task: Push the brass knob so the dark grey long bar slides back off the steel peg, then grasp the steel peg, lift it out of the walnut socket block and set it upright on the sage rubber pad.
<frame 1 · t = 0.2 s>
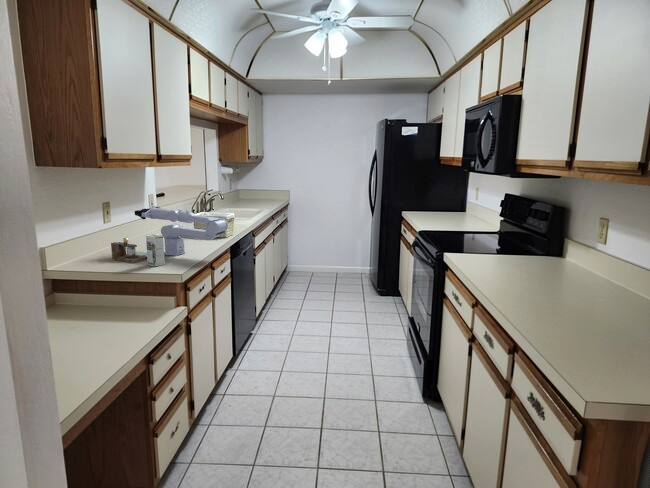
hand: (140, 211, 224), 21 cm above the worktop, tool horizontal, fingers open, 7 cm apart
sage rubber pad: (139, 254, 219), on the worktop
storage basket: (214, 235, 276), on the worktop
syrup box: (156, 265, 199), on the worktop
dark grey long bar: (123, 241, 208), point 8 cm above the worktop, slide at 0.0 cm
walnut socket block: (131, 259, 208), on the worktop
steel peg: (131, 259, 208), resting in walnut socket block
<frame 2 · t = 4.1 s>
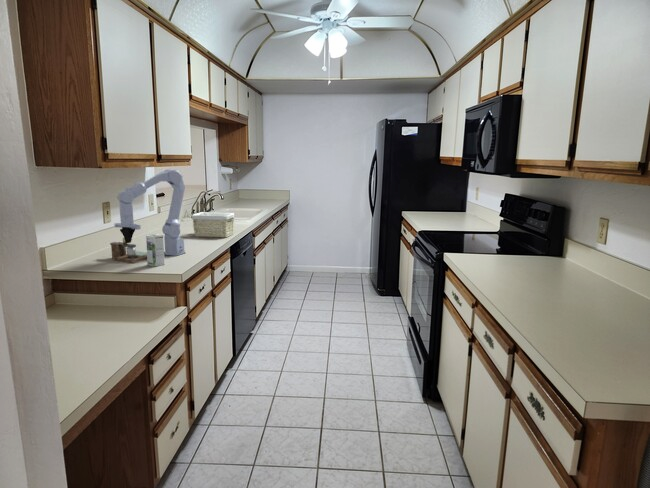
hand: (128, 242, 207), 8 cm above the worktop, tool pointing down, fingers closed
dark grey long bar: (122, 241, 208), point 8 cm above the worktop, slide at 0.4 cm, touching gripper
everything else where it was.
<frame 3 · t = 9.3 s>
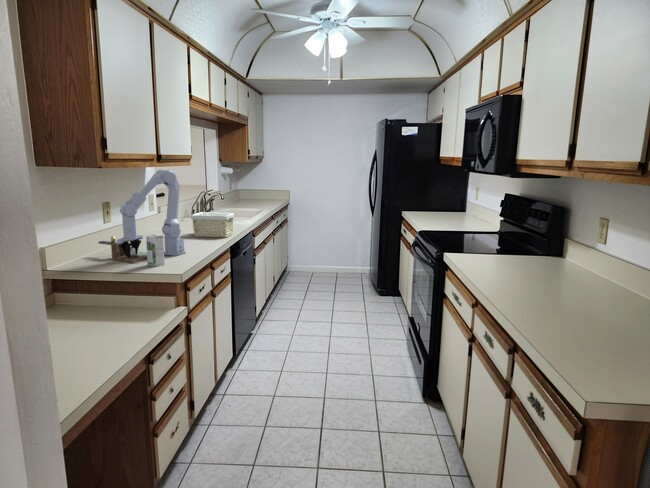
hand: (131, 255, 208), 2 cm above the worktop, tool pointing down, fingers closed on steel peg, 4 cm apart
dark grey long bar: (110, 240, 211), point 8 cm above the worktop, slide at 8.2 cm
steel peg: (131, 259, 208), resting in walnut socket block, touching gripper
everything else where it was.
when the fingers open (4 cm above the worktop, at t = 12.9 s): steel peg drops 1 cm, resting on sage rubber pad.
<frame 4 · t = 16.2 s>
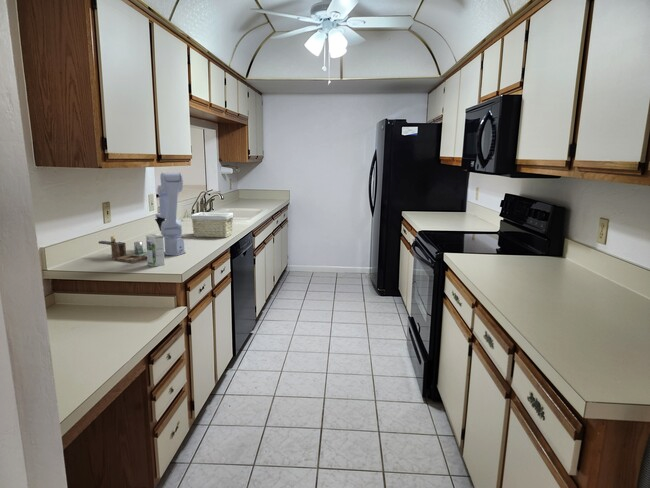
hand: (166, 231, 234), 9 cm above the worktop, tool pointing down, fingers open, 7 cm apart
steel peg: (138, 253, 219), resting on sage rubber pad
everything else where it was.
at the end: dark grey long bar slide at 8.2 cm; steel peg inside the target area (0.0 cm from its centre), resting on sage rubber pad; steel peg tilted 0° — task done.
